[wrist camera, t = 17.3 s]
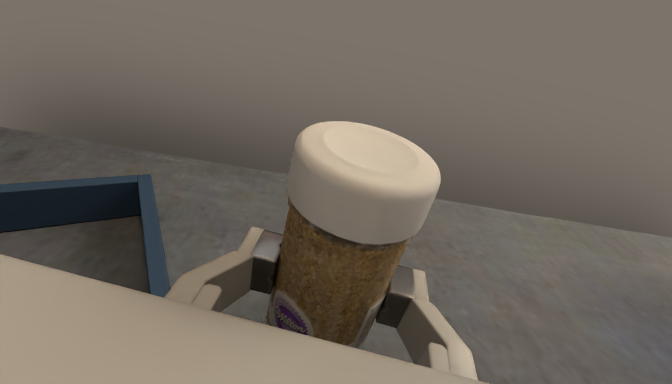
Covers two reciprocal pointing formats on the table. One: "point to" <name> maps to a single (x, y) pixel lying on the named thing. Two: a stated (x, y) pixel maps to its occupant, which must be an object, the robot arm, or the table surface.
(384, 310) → the robot arm
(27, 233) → the table surface
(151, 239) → the square frame
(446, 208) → the table surface
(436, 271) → the table surface
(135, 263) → the table surface
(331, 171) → the sprinkles bottle
